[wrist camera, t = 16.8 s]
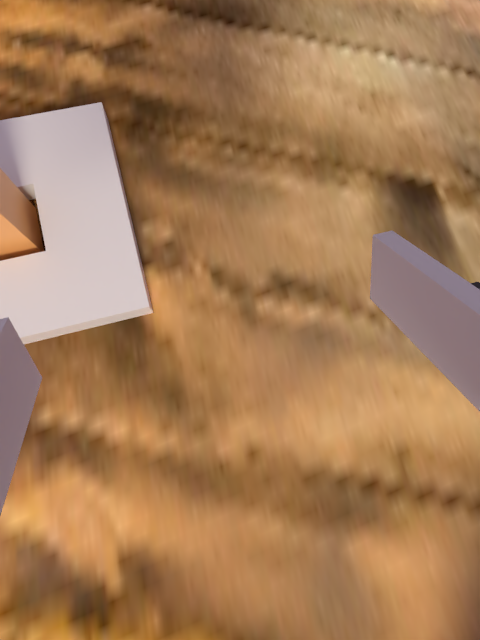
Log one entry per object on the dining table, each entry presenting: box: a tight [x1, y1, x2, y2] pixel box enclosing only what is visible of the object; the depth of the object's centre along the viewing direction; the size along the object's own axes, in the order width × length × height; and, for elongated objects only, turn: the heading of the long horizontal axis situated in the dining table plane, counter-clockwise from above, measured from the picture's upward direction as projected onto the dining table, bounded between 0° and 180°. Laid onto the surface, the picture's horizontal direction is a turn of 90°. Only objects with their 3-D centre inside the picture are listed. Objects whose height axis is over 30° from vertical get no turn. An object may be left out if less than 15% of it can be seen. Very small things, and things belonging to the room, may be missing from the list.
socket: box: [0, 102, 153, 344], centre depth 39 cm, size 22×22×3 cm
